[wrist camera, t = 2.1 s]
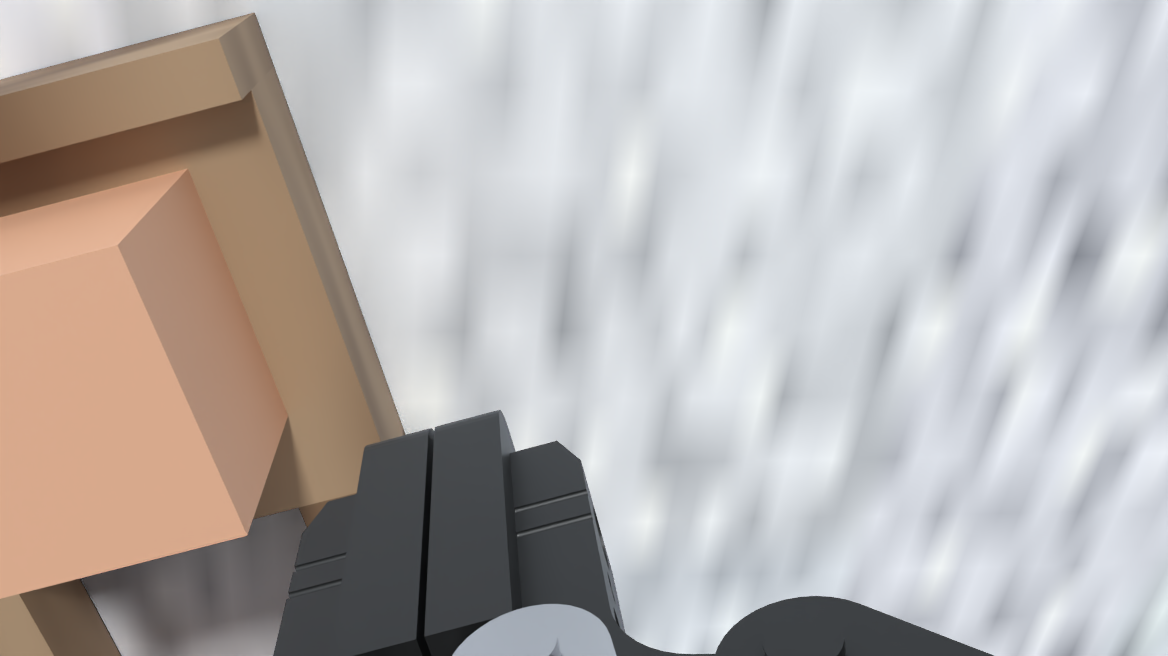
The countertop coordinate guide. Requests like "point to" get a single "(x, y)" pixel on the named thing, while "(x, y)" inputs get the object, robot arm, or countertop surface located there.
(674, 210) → the countertop surface
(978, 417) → the countertop surface
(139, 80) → the brown wooden compartment frame
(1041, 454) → the countertop surface
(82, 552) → the block
